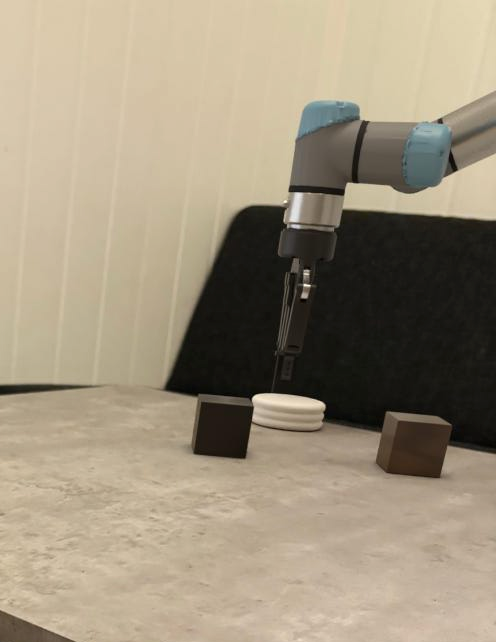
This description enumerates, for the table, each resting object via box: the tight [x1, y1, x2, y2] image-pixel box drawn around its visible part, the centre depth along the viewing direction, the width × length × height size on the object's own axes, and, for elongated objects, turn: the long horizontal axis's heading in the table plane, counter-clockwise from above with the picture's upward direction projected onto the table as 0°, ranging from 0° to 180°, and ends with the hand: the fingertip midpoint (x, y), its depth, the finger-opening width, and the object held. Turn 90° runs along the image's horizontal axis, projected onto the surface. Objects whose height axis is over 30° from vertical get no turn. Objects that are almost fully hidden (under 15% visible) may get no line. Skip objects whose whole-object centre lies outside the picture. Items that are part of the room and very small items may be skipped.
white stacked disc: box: [251, 393, 327, 432], centre depth 140 cm, size 10×10×4 cm
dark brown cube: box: [191, 393, 254, 460], centre depth 119 cm, size 6×6×6 cm
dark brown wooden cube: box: [375, 411, 453, 479], centre depth 117 cm, size 6×6×6 cm
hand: (279, 401), depth 148 cm, fingers closed
